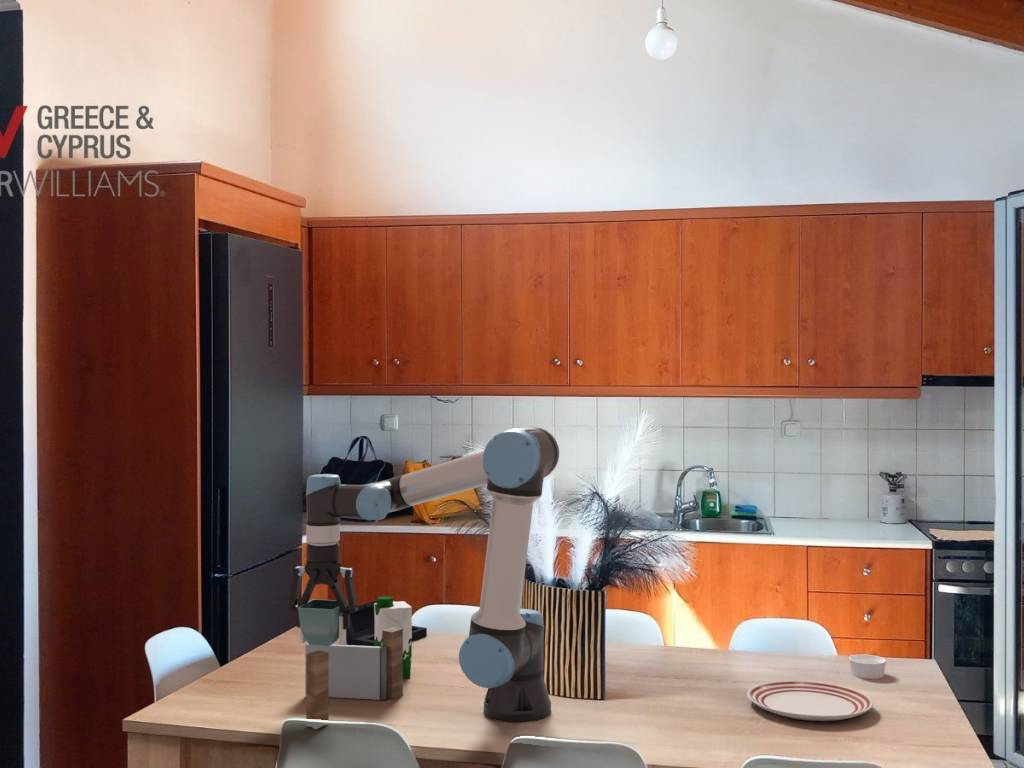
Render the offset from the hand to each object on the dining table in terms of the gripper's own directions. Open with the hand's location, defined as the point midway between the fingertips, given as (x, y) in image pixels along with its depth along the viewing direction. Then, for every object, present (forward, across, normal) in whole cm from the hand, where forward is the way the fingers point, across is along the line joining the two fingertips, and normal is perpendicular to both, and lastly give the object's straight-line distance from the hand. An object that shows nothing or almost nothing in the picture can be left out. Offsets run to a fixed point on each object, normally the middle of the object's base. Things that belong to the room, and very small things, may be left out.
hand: (323, 642), depth 227 cm
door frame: (+15, -8, +1) cm, 17 cm away
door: (+15, -12, -7) cm, 20 cm away
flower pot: (0, 0, 0) cm, 0 cm away
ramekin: (+15, -127, -47) cm, 136 cm away
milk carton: (+15, -9, -26) cm, 32 cm away
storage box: (+16, +4, -60) cm, 62 cm away
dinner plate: (+16, -109, -18) cm, 111 cm away
